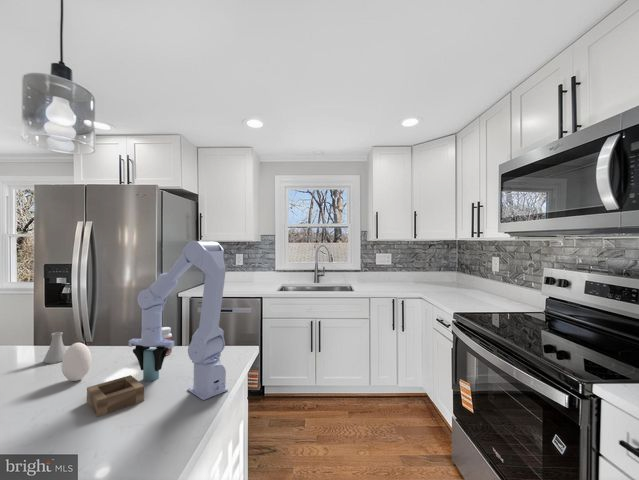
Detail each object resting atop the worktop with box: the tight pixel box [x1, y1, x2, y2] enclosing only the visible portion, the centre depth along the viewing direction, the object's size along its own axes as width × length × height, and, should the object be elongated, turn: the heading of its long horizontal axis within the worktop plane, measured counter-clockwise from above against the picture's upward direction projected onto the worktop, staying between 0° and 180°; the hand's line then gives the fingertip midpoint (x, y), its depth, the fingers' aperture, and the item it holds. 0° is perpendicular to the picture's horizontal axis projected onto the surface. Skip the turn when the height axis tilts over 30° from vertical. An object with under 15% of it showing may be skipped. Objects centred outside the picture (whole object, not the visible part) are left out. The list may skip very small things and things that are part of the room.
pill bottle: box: [155, 326, 173, 356], centre depth 120 cm, size 6×6×10 cm
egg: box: [61, 342, 92, 382], centre depth 97 cm, size 7×7×12 cm
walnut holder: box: [86, 374, 145, 418], centre depth 84 cm, size 11×11×4 cm
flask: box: [42, 331, 67, 364], centre depth 113 cm, size 7×7×10 cm
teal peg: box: [142, 347, 160, 383], centre depth 98 cm, size 4×4×9 cm
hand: (151, 369), depth 98 cm, fingers closed on teal peg, 4 cm apart
